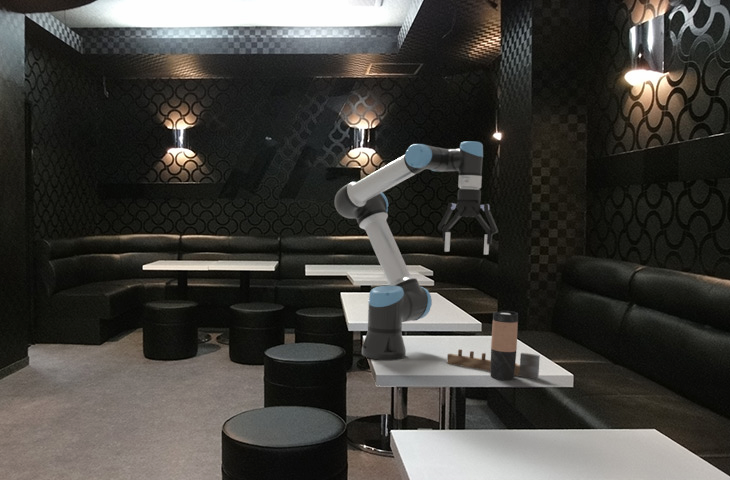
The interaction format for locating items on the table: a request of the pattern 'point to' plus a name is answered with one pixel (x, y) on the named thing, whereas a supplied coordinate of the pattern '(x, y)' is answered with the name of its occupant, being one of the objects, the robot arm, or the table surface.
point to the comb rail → (526, 367)
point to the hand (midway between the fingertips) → (466, 253)
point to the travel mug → (504, 345)
